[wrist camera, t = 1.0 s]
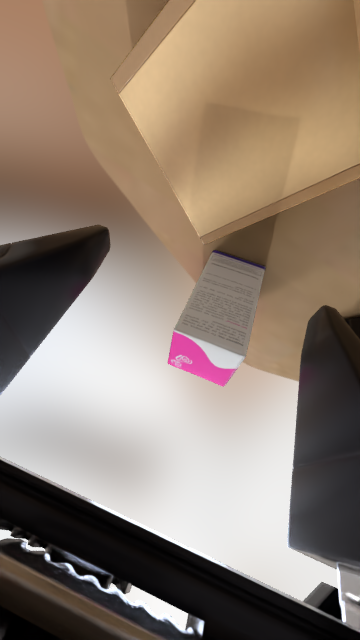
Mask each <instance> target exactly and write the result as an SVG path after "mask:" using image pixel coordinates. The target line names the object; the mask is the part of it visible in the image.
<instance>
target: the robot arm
mask: <svg viewBox="0 0 360 640" xmlns="http://www.w3.org/2000/svg"><path fill="white" fill-rule="evenodd" d="M109 250H110V236H109V230H108V228H107V227H104V226H101V225H94V226H89V227H85V228H80V229H76V230H70V231H66V232H61V233H57V234H52V235H47V236H42V237H38V238H33V239H28V240H23V241H19V242H14V243H12V244H11V243H9V244H4V245H0V395H1V394H2V392H3V391H4V390H5V388H6V387H7V386H8V385H9V384H10V382H11V381H12V380H13V378H14V377H15V376H16V375H17V373H18V372H19V371H20V369H21V368H22V367H23V366H24V365H25V363H26V362H27V361H28V359H29V358H30V356H31V355H32V354H33V353H34V352H35V350H36V349H37V348H38V346H39V345H40V344H41V343H42V341H43V340H44V339H45V338H46V336H47V335H48V334H49V333H50V331H51V330H52V329H53V327H54V326H55V325H56V324H57V322H58V321H59V320H60V319H61V317H62V316H63V315H64V313H65V312H66V311H67V310H68V308H69V307H70V306H71V304H72V303H73V302H74V301H75V299H76V298H77V297H78V296H79V294H80V293H81V292H82V291H83V289H84V288H85V287H86V286H87V284H88V283H89V282H90V280H91V279H92V278H93V276H94V275H95V273H96V272H97V270H98V268H99V267H100V265H101V263H102V262H103V260H104V258H105V257H106V255H107V253H108V252H109ZM294 448H295V449H294V460H293V472H292V487H291V499H290V514H289V528H288V547H289V548H291V549H294V550H296V551H298V552H300V553H302V554H304V555H306V556H309V557H311V558H313V559H315V560H317V561H320V562H322V563H324V564H326V565H328V566H330V567H333V568H335V569H337V573H338V588H339V589H337V588H335V587H333V586H330V585H328V584H326V583H323V582H321V583H320V584H319V585H318V586H317V587H316V588H315V590H313V591H312V593H311V594H310V595H309V596H308V597H307V598H306V599H305V600H304V601H303V602H302V601H300V600H298V599H295V598H294V597H292V596H290V595H288V594H285V593H283V592H281V591H279V590H277V589H275V588H273V587H271V586H269V585H267V584H265V583H263V582H260V581H258V580H256V579H254V578H252V577H250V576H248V575H246V574H244V573H242V572H240V571H238V570H235V569H233V568H231V567H229V566H227V565H225V564H223V563H221V562H219V561H216V560H215V559H213V558H210V557H208V556H206V555H204V554H202V553H200V552H198V551H196V550H194V549H192V548H190V547H188V546H185V545H183V544H181V543H179V542H177V541H175V540H173V539H171V538H169V537H167V536H165V535H163V534H160V533H158V532H156V531H154V530H152V529H150V528H148V527H146V526H144V525H142V524H140V523H137V522H135V521H133V520H131V519H129V518H127V517H125V516H123V515H121V514H119V513H117V512H114V511H113V510H110V509H108V508H106V507H104V506H102V505H100V504H98V503H96V502H94V501H92V500H90V499H87V498H85V497H83V496H81V495H79V494H77V493H75V492H73V491H71V490H69V489H67V488H64V487H63V486H60V485H58V484H56V483H54V482H52V481H50V480H48V479H46V478H44V477H42V476H40V475H38V474H35V473H33V472H31V471H29V470H27V469H25V468H23V467H21V466H19V465H17V464H15V463H12V462H10V461H8V460H6V459H4V458H2V457H0V529H2V530H9V531H11V532H12V533H11V536H12V537H14V538H25V539H27V540H28V545H30V546H32V547H42V548H44V549H45V552H44V551H30V550H28V549H26V542H24V541H23V540H21V539H3V540H0V640H360V317H355V318H348V319H343V317H342V316H341V315H340V314H339V312H338V311H337V310H336V309H335V308H332V307H329V306H327V305H325V306H322V307H321V308H320V309H319V310H318V311H317V312H316V313H315V314H314V315H313V316H312V317H311V318H310V320H309V322H308V325H307V330H306V335H305V339H304V344H303V349H302V354H301V363H300V377H299V391H298V406H297V419H296V433H295V446H294ZM111 583H113V584H114V585H116V587H117V589H116V588H111V589H109V586H110V584H111ZM132 585H133V586H135V587H137V588H139V589H141V590H143V591H145V592H147V593H149V594H151V595H153V596H155V597H157V598H159V599H161V600H163V601H165V602H167V603H169V604H171V605H173V606H174V607H177V608H178V609H180V610H182V611H184V612H186V613H188V619H187V624H186V629H185V630H183V629H181V628H180V627H179V626H178V624H177V623H176V622H175V621H174V619H173V618H172V617H171V616H169V615H167V614H165V613H164V614H163V615H162V616H161V617H158V616H156V615H154V614H153V613H152V611H151V610H150V609H149V607H148V606H147V605H146V604H145V603H144V602H142V601H140V600H138V601H137V602H134V603H131V602H129V601H127V600H126V598H125V597H124V595H123V594H126V593H129V592H130V589H131V586H132Z"/></svg>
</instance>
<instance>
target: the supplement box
mask: <svg viewBox="0 0 360 640" xmlns="http://www.w3.org/2000/svg"><path fill="white" fill-rule="evenodd" d="M265 269H266V267H265V266H262V265H260V264H256V263H253V262H250V261H247V260H244V259H241V258H238V257H235V256H232V255H229V254H226V253H223V252H220V251H217V250H214V251H213V252H212V254H211V256H210V258H209V260H208V262H207V264H206V266H205V268H204V270H203V272H202V274H201V276H200V278H199V280H198V282H197V284H196V286H195V288H194V289H193V292H192V294H191V296H190V298H189V300H188V302H187V304H186V306H185V308H184V310H183V312H182V314H181V316H180V319H179V321H178V322H177V324H176V326H175V328H174V332H173V337H172V342H171V348H170V353H169V359H168V364H170V365H172V366H174V367H177V368H179V369H182V370H184V371H187V372H190V373H192V374H195V375H197V376H200V377H202V378H204V379H206V380H209V381H212V382H214V383H216V384H218V385H221V386H224V385H225V384H226V383H227V382H228V381H229V379H230V378H231V376H232V375H233V374H234V372H235V371H236V370H237V368H238V367H239V365H240V364H241V363H242V361H243V360H244V358H245V357H246V353H247V349H248V344H249V340H250V335H251V331H252V326H253V322H254V317H255V312H256V308H257V303H258V299H259V294H260V289H261V285H262V280H263V276H264V272H265Z"/></svg>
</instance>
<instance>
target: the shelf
mask: <svg viewBox="0 0 360 640" xmlns="http://www.w3.org/2000/svg"><path fill="white" fill-rule="evenodd" d="M110 80H111V82H112V83H113V85H114V87H115V89H116V91H117V92H118V94H119V96H120V98H121V99H122V101H123V103H124V105H125V106H126V108H127V110H128V112H129V113H130V115H131V117H132V119H133V120H134V122H135V124H136V126H137V128H138V129H139V131H140V133H141V135H142V136H143V138H144V140H145V142H146V143H147V145H148V147H149V149H150V151H151V152H152V154H153V156H154V158H155V159H156V161H157V163H158V165H159V166H160V168H161V170H162V172H163V173H164V175H165V177H166V179H167V181H168V182H169V184H170V186H171V188H172V189H173V191H174V193H175V195H176V196H177V198H178V200H179V202H180V203H181V205H182V207H183V209H184V211H185V212H186V214H187V216H188V218H189V219H190V221H191V223H192V225H193V226H194V228H195V230H196V232H197V234H198V235H199V237H200V239H201V240H202V242H203V244H204V245H205V244H208V243H210V242H212V241H215V240H217V239H219V238H222V237H224V236H226V235H229V234H231V233H233V232H235V231H238V230H240V229H242V228H245V227H247V226H249V225H252V224H254V223H256V222H259V221H261V220H263V219H266V218H268V217H270V216H273V215H275V214H277V213H280V212H282V211H284V210H286V209H289V208H291V207H293V206H296V205H298V204H300V203H303V202H305V201H307V200H310V199H312V198H314V197H317V196H319V195H321V194H324V193H326V192H328V191H330V190H333V189H335V188H337V187H340V186H342V185H344V184H347V183H349V182H351V181H354V180H356V179H358V178H360V0H169V1H168V2H167V3H166V5H165V6H164V7H163V9H162V10H161V11H160V13H159V14H158V15H157V17H156V18H155V19H154V21H153V22H152V23H151V25H150V26H149V27H148V29H147V30H146V31H145V33H144V34H143V35H142V37H141V38H140V39H139V41H138V42H137V43H136V45H135V46H134V47H133V49H132V50H131V51H130V53H129V54H128V55H127V57H126V58H125V59H124V61H123V62H122V63H121V65H120V66H119V67H118V69H117V70H116V71H115V73H114V74H113V75H112V77H111V78H110Z"/></svg>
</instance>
